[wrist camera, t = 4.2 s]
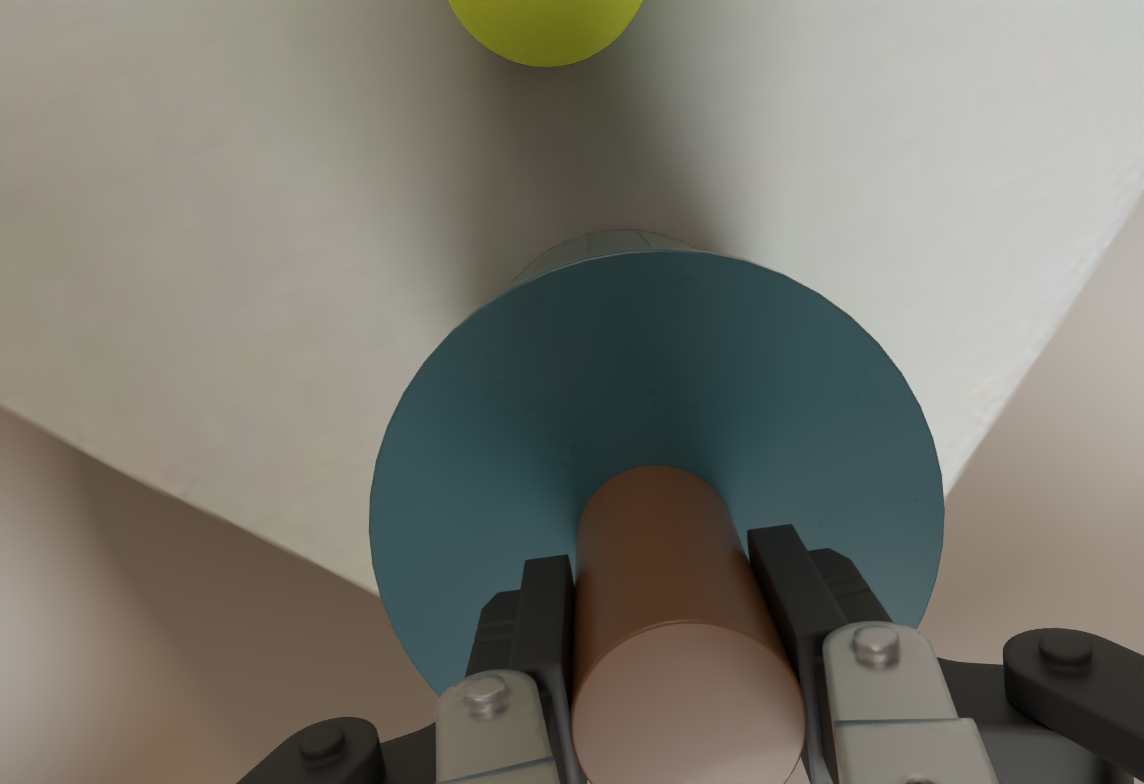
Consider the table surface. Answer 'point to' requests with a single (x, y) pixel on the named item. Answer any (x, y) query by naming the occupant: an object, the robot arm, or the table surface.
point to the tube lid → (653, 495)
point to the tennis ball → (545, 27)
